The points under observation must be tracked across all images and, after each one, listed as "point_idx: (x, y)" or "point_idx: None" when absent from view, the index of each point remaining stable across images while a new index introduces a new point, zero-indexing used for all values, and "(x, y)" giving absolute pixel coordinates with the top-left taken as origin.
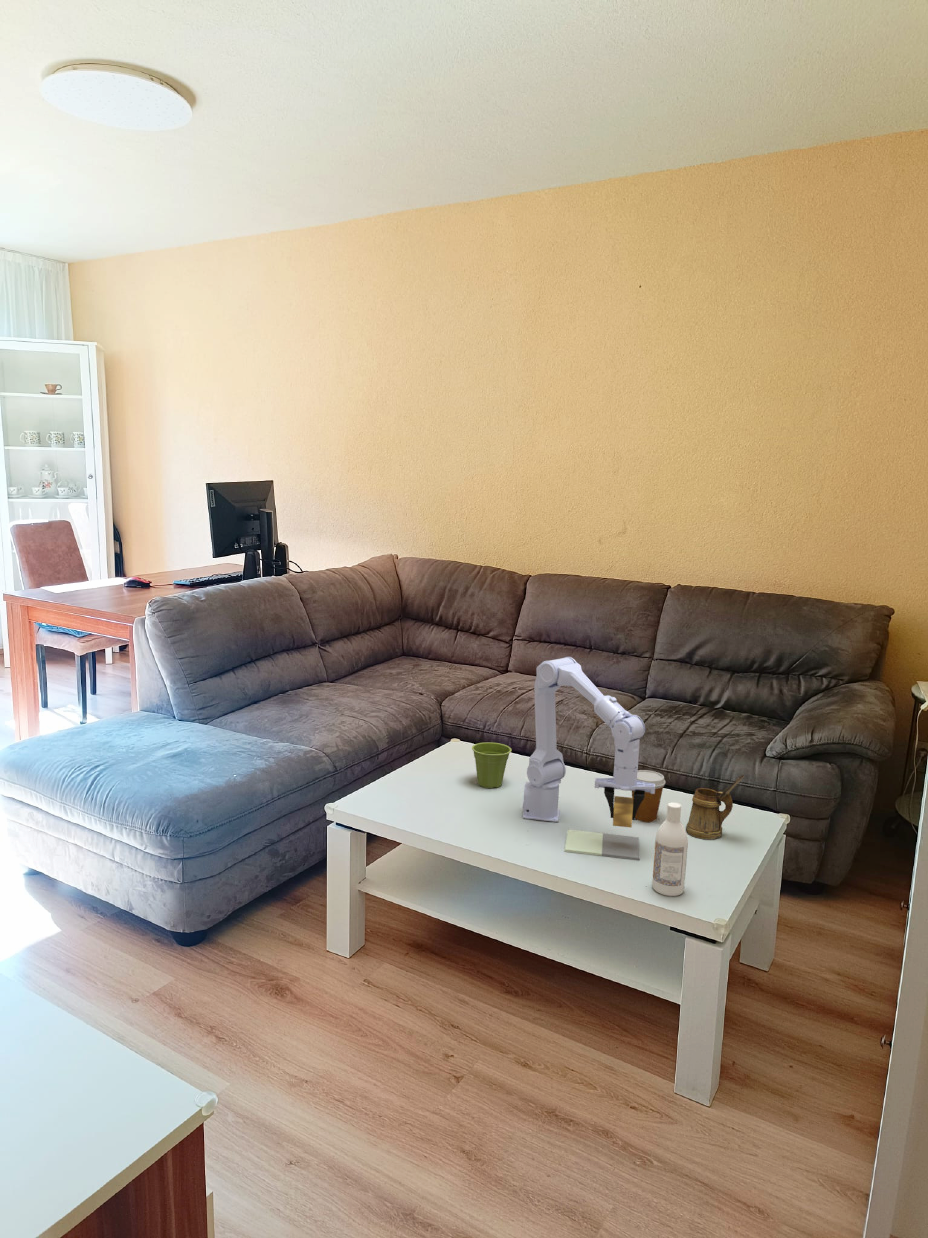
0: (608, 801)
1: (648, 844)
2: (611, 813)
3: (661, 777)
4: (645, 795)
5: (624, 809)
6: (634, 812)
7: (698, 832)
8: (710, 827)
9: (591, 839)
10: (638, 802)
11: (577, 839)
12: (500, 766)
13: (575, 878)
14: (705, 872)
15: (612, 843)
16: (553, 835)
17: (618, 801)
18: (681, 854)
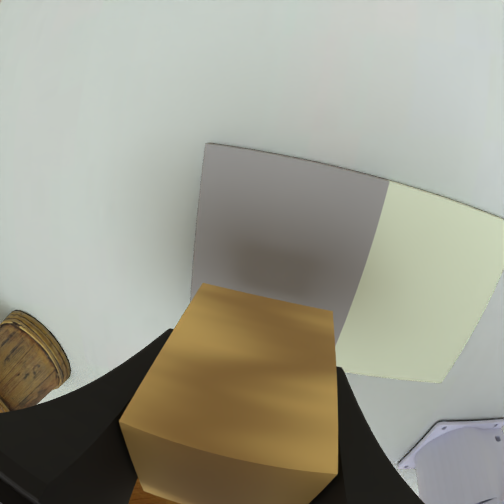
0: (397, 481)
1: (157, 296)
2: (345, 389)
3: None
4: (140, 486)
5: (228, 398)
6: (142, 364)
7: (30, 332)
8: (2, 332)
9: (391, 321)
10: (54, 417)
11: (446, 317)
12: None
13: (500, 3)
14: (19, 102)
15: (310, 289)
16: (491, 348)
17: (278, 486)
18: None
